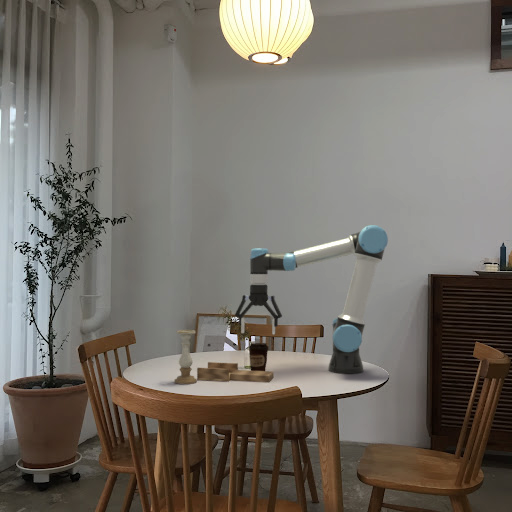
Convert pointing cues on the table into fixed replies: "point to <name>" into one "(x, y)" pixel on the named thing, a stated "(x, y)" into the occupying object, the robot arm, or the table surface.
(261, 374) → the wooden stepped block
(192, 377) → the candle holder
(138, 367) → the table surface
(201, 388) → the table surface
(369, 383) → the table surface
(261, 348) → the coffee cup
